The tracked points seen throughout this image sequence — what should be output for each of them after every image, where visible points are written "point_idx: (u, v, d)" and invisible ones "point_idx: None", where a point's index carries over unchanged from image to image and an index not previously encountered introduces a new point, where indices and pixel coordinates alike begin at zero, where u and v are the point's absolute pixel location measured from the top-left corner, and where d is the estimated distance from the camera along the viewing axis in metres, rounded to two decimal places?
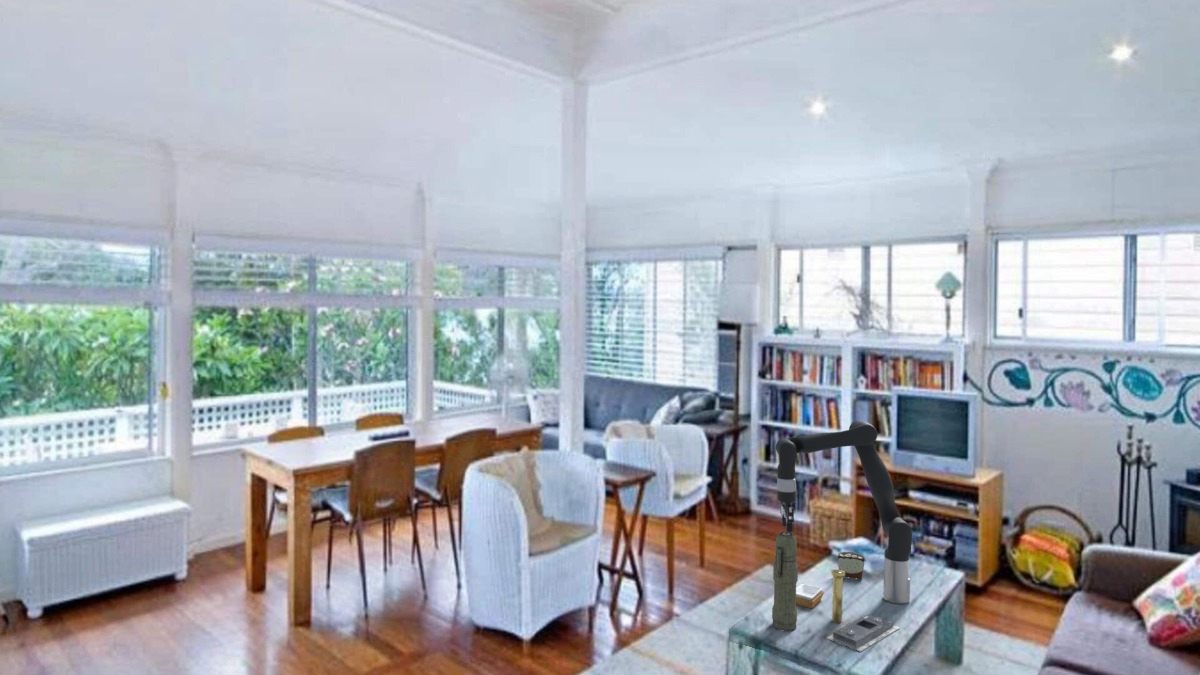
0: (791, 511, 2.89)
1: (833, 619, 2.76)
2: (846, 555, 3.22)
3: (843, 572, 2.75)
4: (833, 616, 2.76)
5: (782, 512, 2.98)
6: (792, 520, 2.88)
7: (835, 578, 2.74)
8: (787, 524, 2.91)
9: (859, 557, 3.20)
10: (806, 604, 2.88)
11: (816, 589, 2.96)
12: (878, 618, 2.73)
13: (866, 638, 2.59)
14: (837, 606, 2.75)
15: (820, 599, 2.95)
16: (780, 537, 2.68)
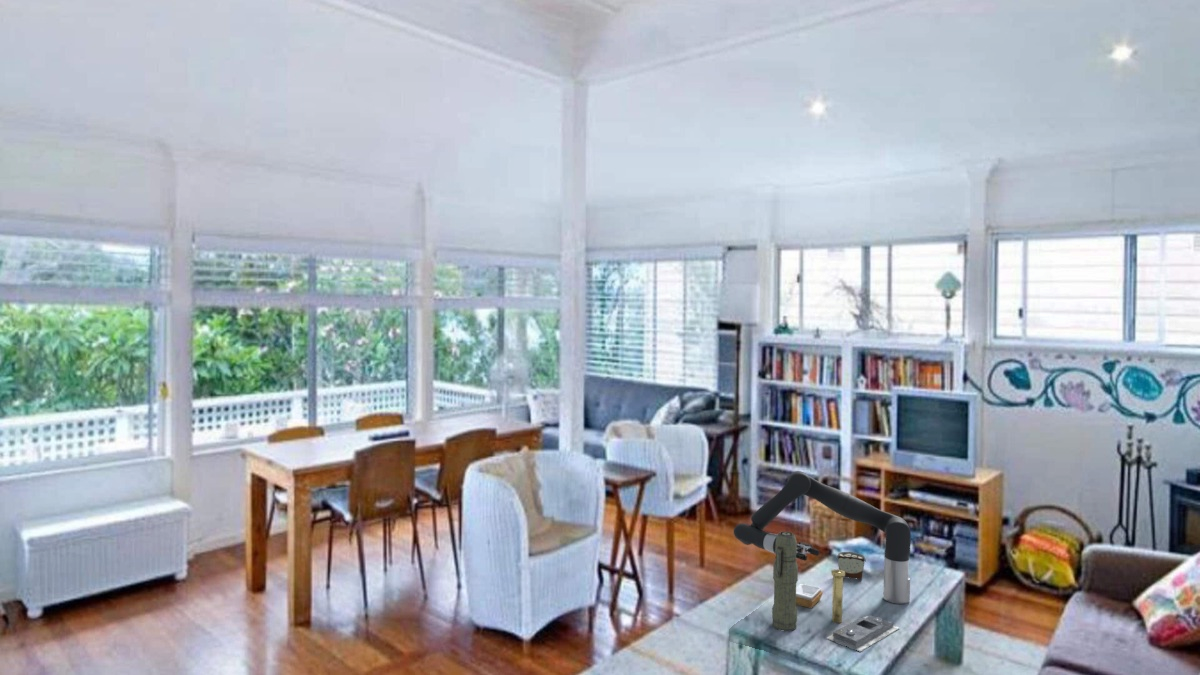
0: None
1: (833, 619, 2.76)
2: (846, 555, 3.22)
3: (843, 572, 2.75)
4: (833, 616, 2.76)
5: (803, 552, 2.90)
6: None
7: (835, 578, 2.74)
8: (798, 558, 2.83)
9: (859, 557, 3.20)
10: (806, 604, 2.89)
11: (815, 589, 2.97)
12: (878, 618, 2.73)
13: (866, 638, 2.59)
14: (837, 606, 2.75)
15: (819, 599, 2.96)
16: (780, 537, 2.68)
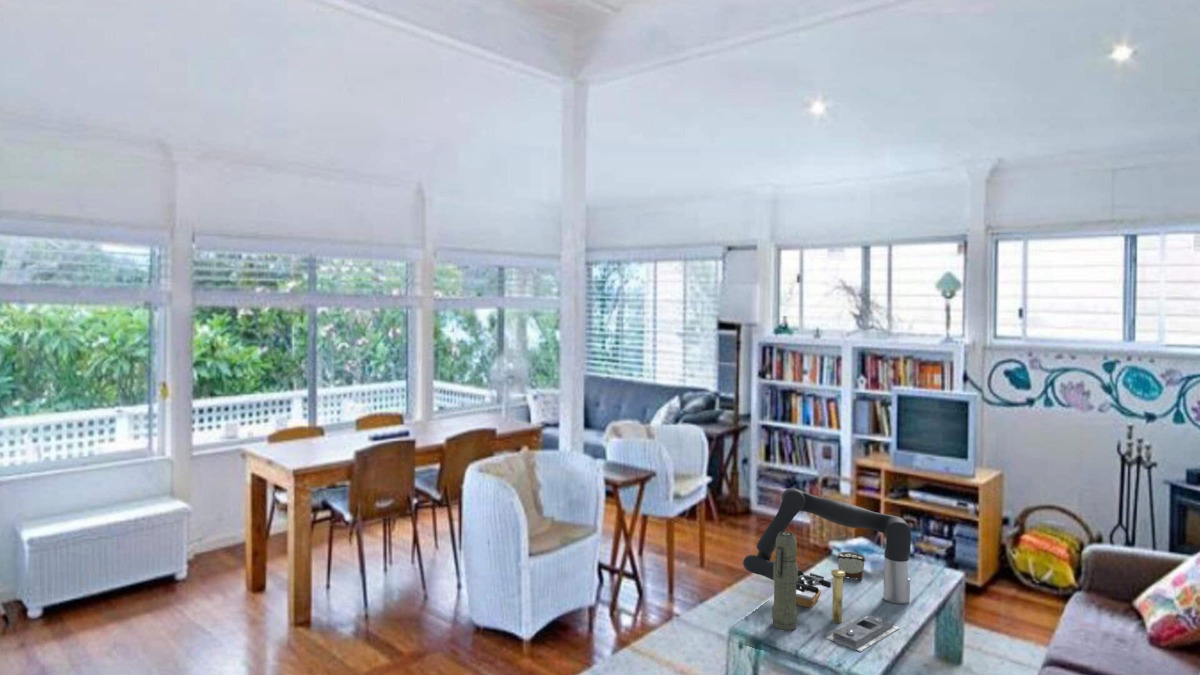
0: None
1: (833, 619, 2.76)
2: (846, 555, 3.22)
3: (843, 572, 2.75)
4: (833, 616, 2.76)
5: (814, 584, 2.87)
6: (801, 586, 2.80)
7: (835, 578, 2.74)
8: (810, 590, 2.80)
9: (859, 557, 3.20)
10: (806, 603, 2.89)
11: None
12: (878, 618, 2.73)
13: (866, 638, 2.59)
14: (837, 606, 2.75)
15: (818, 598, 2.96)
16: (780, 537, 2.68)
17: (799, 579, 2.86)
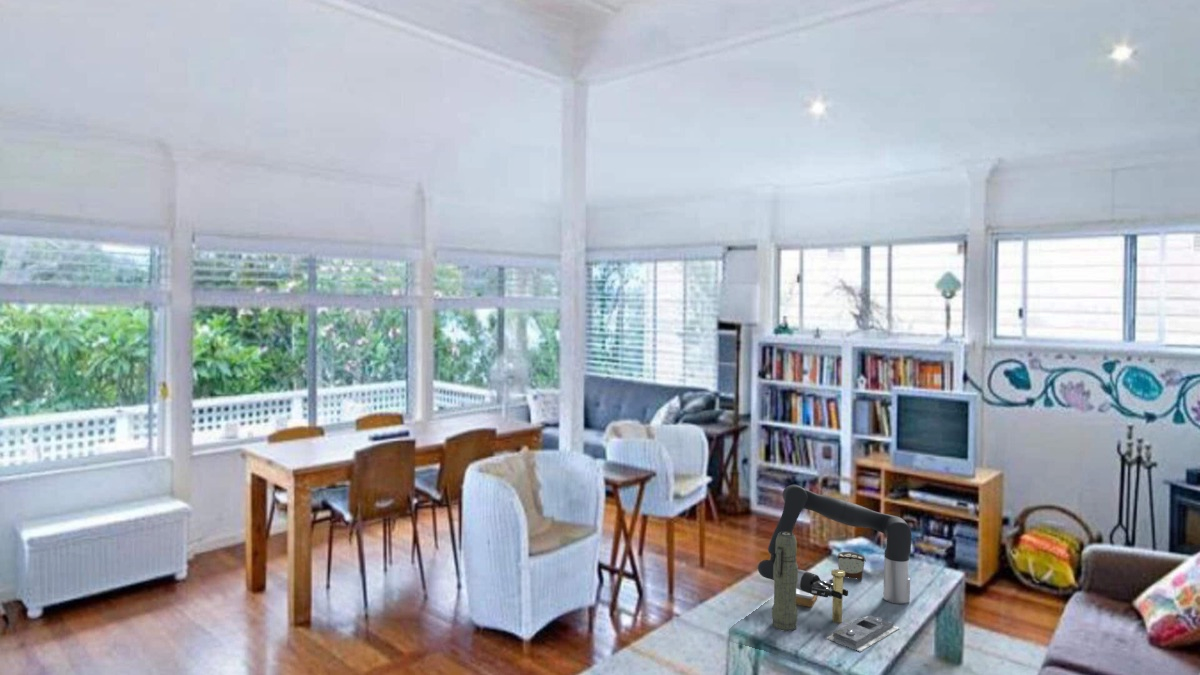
0: (815, 591, 2.76)
1: (833, 619, 2.76)
2: (846, 555, 3.22)
3: (843, 572, 2.75)
4: (833, 616, 2.76)
5: None
6: (825, 592, 2.74)
7: (835, 578, 2.74)
8: None
9: (859, 557, 3.20)
10: (806, 603, 2.89)
11: None
12: (878, 618, 2.73)
13: (866, 638, 2.59)
14: (837, 606, 2.75)
15: (816, 597, 2.97)
16: (780, 537, 2.68)
17: (815, 584, 2.80)
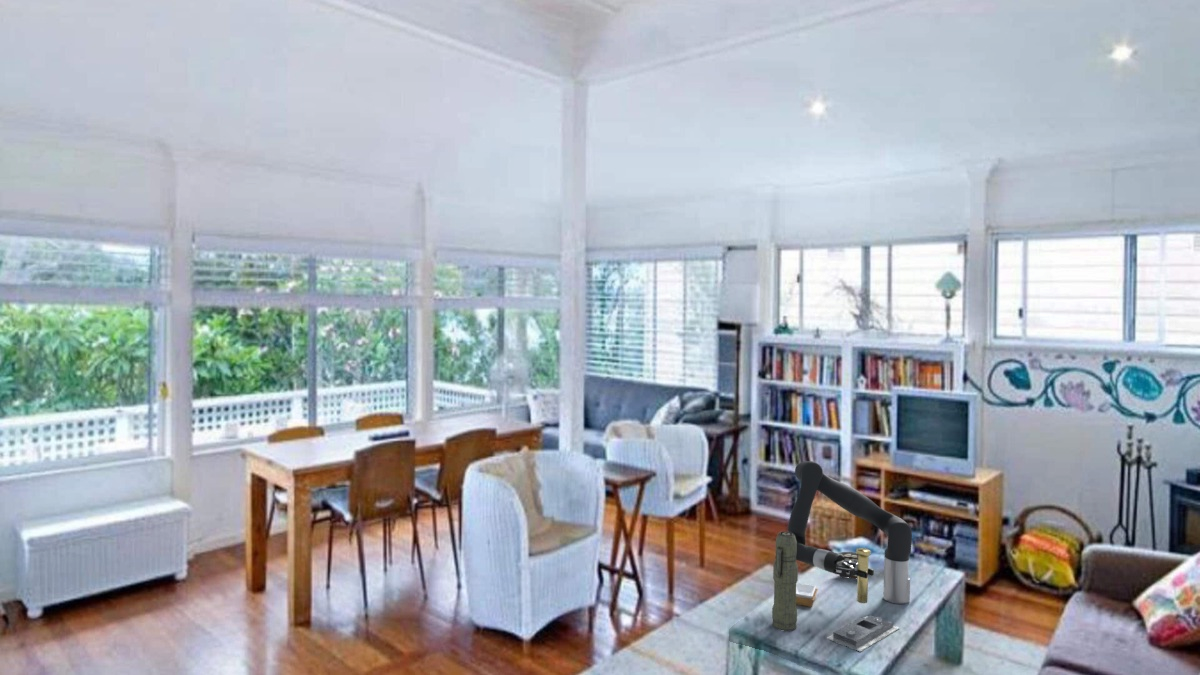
0: (840, 570, 2.68)
1: (858, 599, 2.68)
2: (846, 555, 3.22)
3: (868, 551, 2.66)
4: (858, 596, 2.68)
5: None
6: (850, 571, 2.66)
7: (861, 556, 2.66)
8: (858, 575, 2.67)
9: None
10: (806, 603, 2.89)
11: (810, 587, 2.99)
12: (878, 618, 2.73)
13: (866, 638, 2.59)
14: (862, 585, 2.66)
15: None
16: (780, 537, 2.68)
17: (840, 564, 2.72)
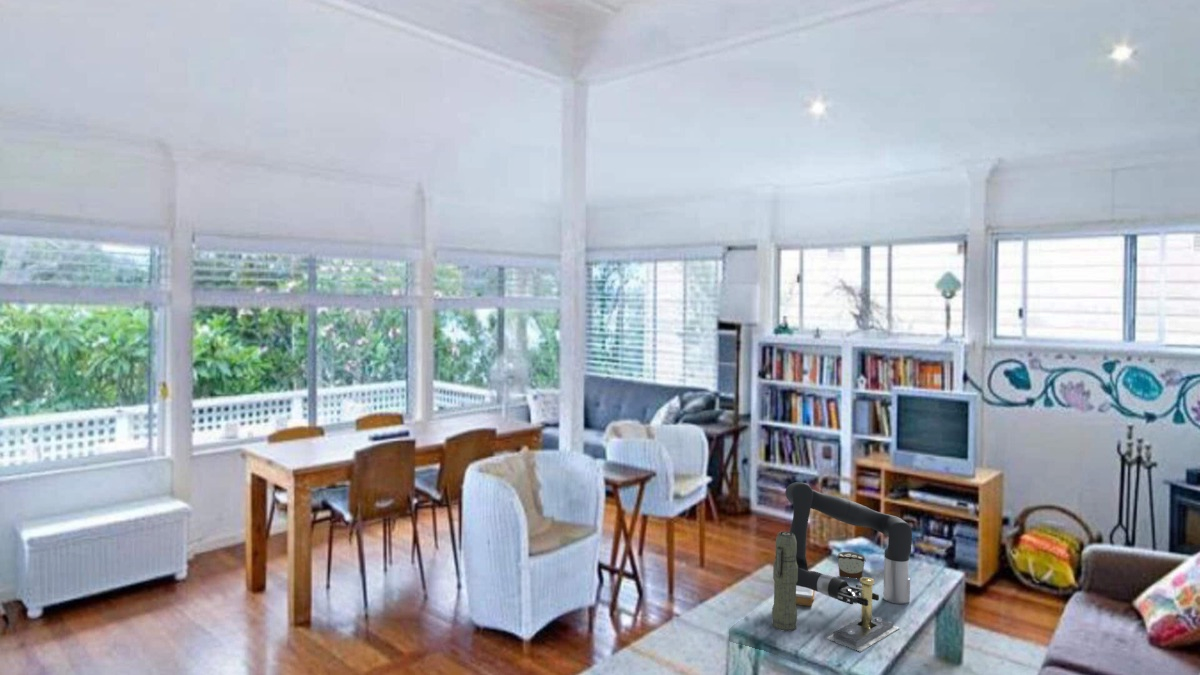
0: (841, 596, 2.67)
1: None
2: (846, 555, 3.22)
3: (872, 580, 2.66)
4: (862, 626, 2.67)
5: (860, 596, 2.71)
6: (850, 598, 2.65)
7: (864, 586, 2.66)
8: None
9: (859, 557, 3.20)
10: (806, 602, 2.90)
11: None
12: (878, 618, 2.73)
13: (866, 638, 2.59)
14: (866, 615, 2.66)
15: None
16: (780, 537, 2.68)
17: (844, 590, 2.71)
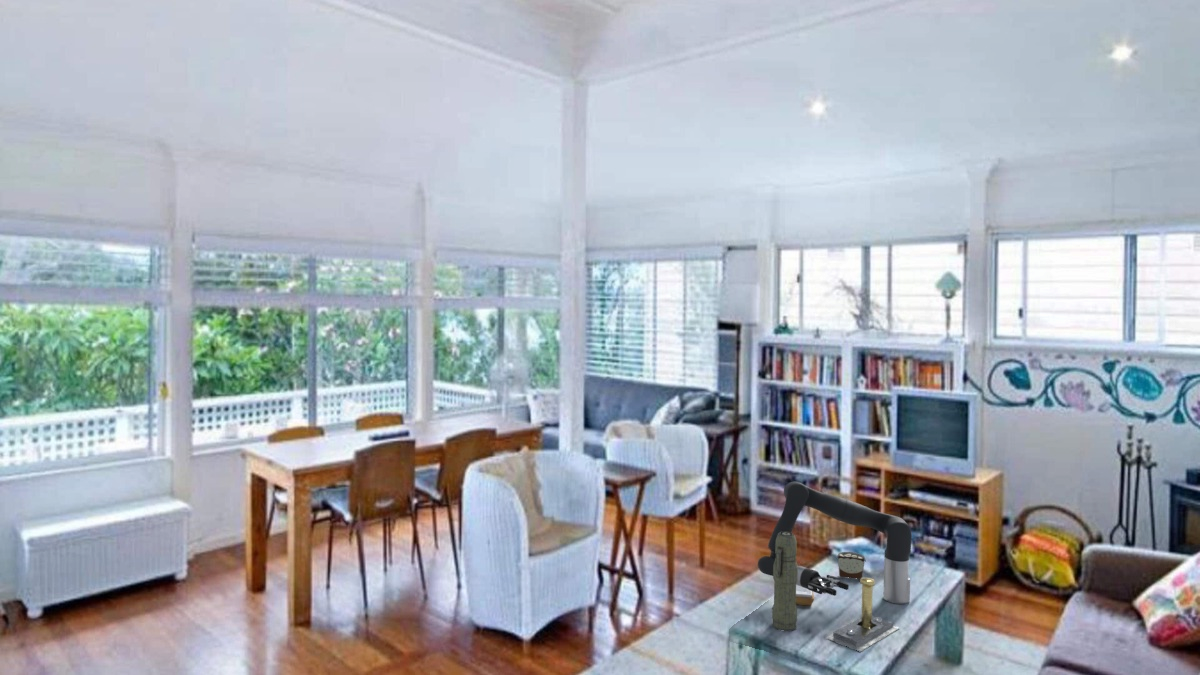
0: (811, 586, 2.77)
1: None
2: (846, 555, 3.22)
3: (873, 581, 2.65)
4: (862, 626, 2.67)
5: (831, 586, 2.81)
6: (819, 588, 2.74)
7: (865, 586, 2.65)
8: (827, 592, 2.74)
9: (859, 557, 3.20)
10: (806, 602, 2.90)
11: None
12: (878, 618, 2.73)
13: (866, 638, 2.59)
14: (866, 615, 2.65)
15: None
16: (780, 537, 2.68)
17: (816, 581, 2.80)
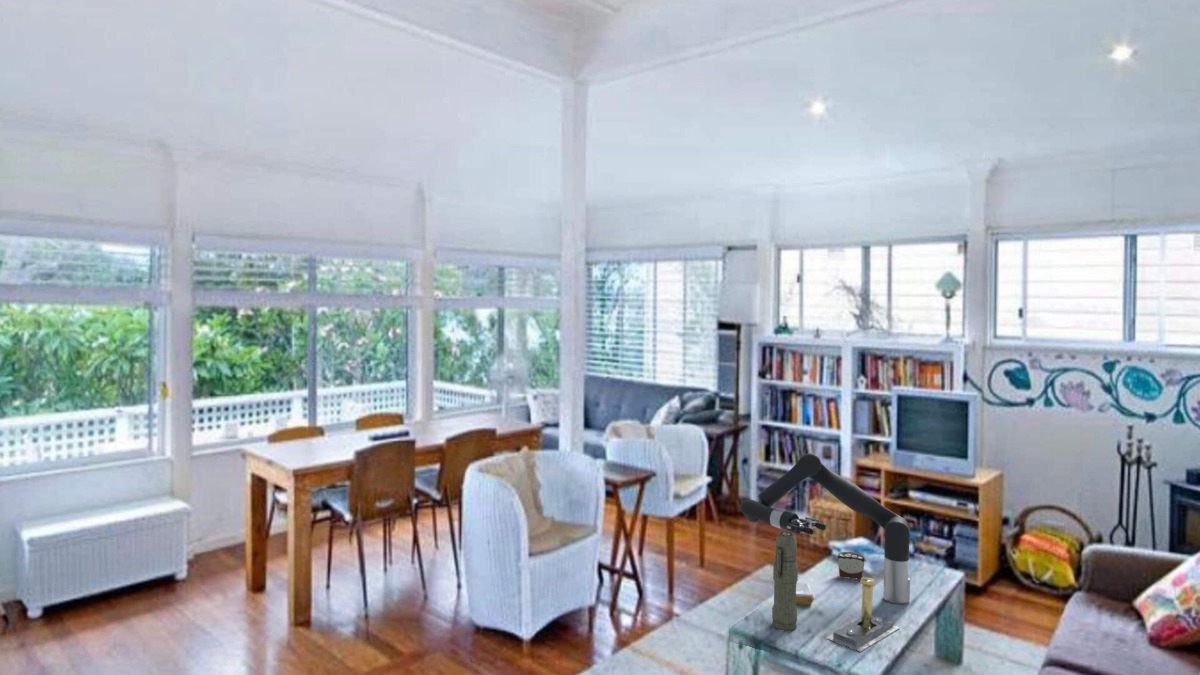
0: (789, 526, 2.87)
1: None
2: (846, 555, 3.22)
3: (873, 581, 2.65)
4: (862, 626, 2.67)
5: (810, 527, 2.91)
6: (796, 528, 2.84)
7: (865, 586, 2.65)
8: None
9: (859, 557, 3.20)
10: (806, 602, 2.91)
11: (803, 585, 3.01)
12: (878, 618, 2.73)
13: (866, 638, 2.59)
14: (866, 615, 2.65)
15: None
16: (780, 537, 2.68)
17: (794, 522, 2.90)
